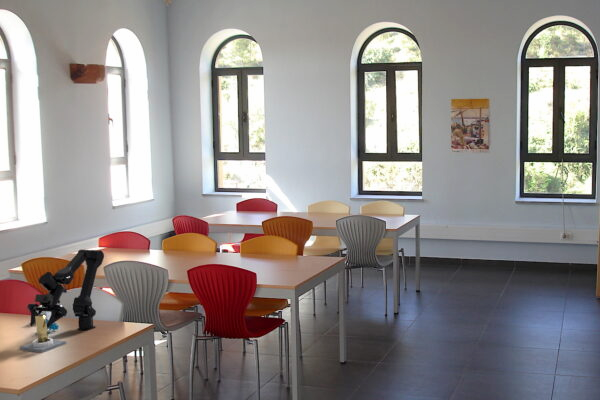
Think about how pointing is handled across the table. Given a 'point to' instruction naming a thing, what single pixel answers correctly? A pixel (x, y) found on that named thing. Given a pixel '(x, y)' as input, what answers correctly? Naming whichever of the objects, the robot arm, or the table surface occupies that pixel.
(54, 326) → the gear
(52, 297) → the robot arm
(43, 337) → the brass shaft
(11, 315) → the table surface
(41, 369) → the table surface
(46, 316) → the medicine box
